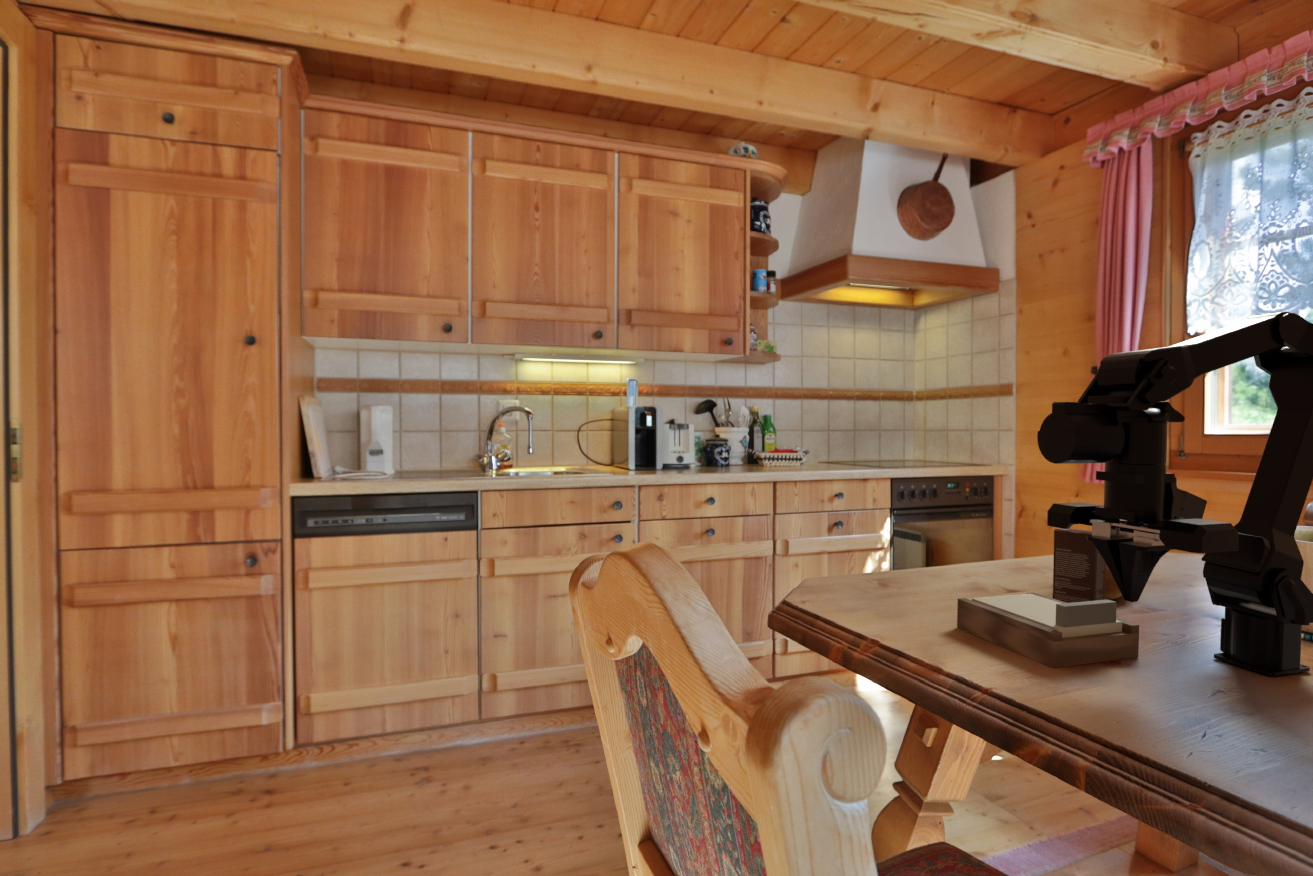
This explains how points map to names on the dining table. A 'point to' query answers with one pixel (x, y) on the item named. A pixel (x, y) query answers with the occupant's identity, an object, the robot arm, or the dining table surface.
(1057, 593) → the box
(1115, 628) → the cover plate
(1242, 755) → the dining table surface
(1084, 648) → the walnut box
